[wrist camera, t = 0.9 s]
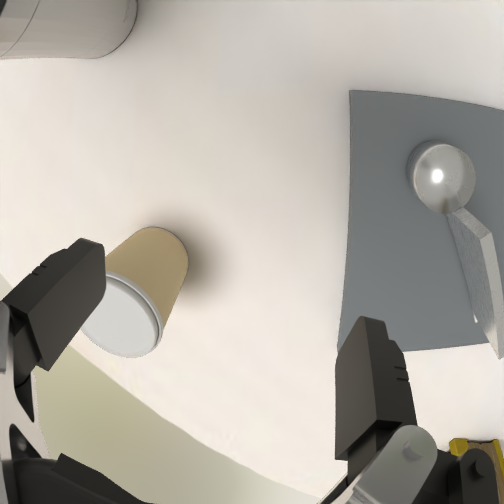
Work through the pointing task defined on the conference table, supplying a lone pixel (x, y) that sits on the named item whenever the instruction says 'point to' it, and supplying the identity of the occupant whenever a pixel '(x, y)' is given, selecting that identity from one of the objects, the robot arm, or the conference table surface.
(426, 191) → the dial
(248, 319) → the conference table surface
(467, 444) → the decorative book
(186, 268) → the coffee cup
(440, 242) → the dial plate
